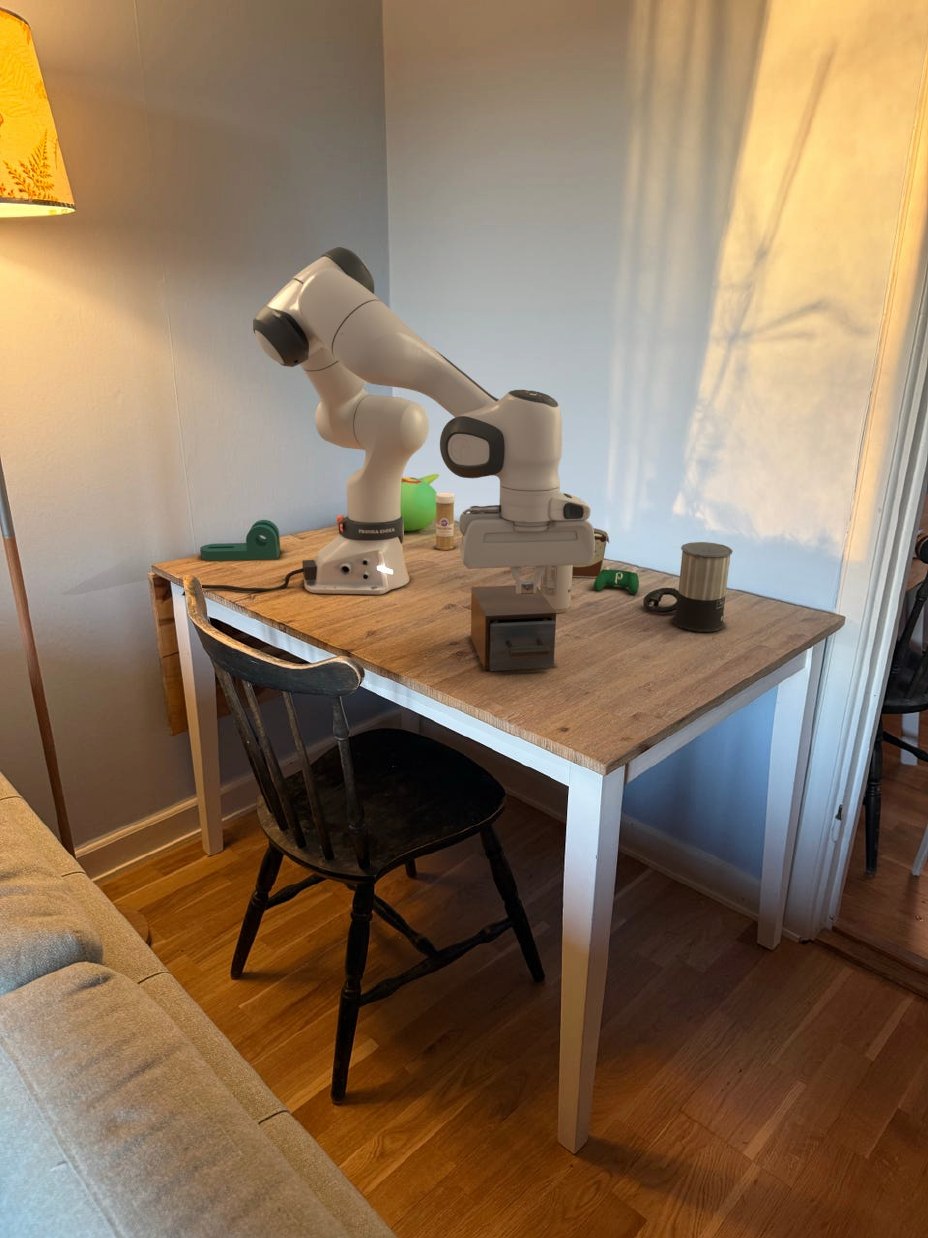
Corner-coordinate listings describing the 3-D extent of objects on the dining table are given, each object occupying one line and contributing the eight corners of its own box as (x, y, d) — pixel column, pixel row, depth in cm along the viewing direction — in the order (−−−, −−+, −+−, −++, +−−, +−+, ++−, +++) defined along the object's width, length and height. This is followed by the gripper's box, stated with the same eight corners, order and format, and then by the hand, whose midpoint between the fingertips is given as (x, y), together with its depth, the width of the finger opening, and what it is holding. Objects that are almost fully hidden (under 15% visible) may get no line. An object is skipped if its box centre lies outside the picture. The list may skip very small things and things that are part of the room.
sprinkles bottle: (437, 550, 200) (436, 496, 196) (434, 545, 205) (434, 492, 200) (455, 549, 201) (455, 495, 196) (452, 544, 205) (452, 491, 201)
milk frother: (721, 636, 150) (731, 557, 144) (634, 624, 155) (641, 548, 150) (726, 611, 162) (736, 537, 157) (646, 601, 167) (652, 530, 162)
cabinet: (553, 667, 136) (556, 612, 133) (484, 670, 135) (485, 616, 131) (533, 634, 150) (535, 584, 147) (470, 637, 148) (471, 587, 145)
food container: (605, 569, 187) (608, 526, 183) (606, 578, 181) (610, 534, 178) (550, 567, 188) (552, 525, 184) (550, 576, 182) (552, 532, 179)
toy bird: (364, 535, 213) (362, 479, 208) (381, 520, 228) (379, 467, 223) (433, 539, 210) (432, 482, 205) (445, 523, 226) (445, 469, 221)
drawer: (561, 680, 130) (563, 634, 127) (496, 684, 128) (497, 637, 125) (534, 636, 146) (536, 595, 144) (477, 639, 145) (477, 597, 142)
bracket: (280, 551, 199) (278, 519, 196) (277, 559, 193) (274, 526, 190) (204, 552, 197) (200, 520, 195) (198, 561, 191) (194, 528, 188)
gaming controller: (637, 600, 173) (642, 575, 175) (637, 592, 169) (641, 566, 172) (594, 595, 176) (598, 571, 178) (592, 587, 172) (597, 562, 175)
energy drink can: (575, 612, 161) (579, 537, 155) (546, 615, 159) (549, 540, 154) (563, 602, 166) (566, 530, 161) (535, 605, 165) (538, 532, 159)
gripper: (462, 511, 118) (461, 602, 123) (601, 507, 120) (595, 597, 125) (456, 501, 123) (456, 589, 128) (589, 498, 126) (583, 584, 131)
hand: (525, 593), depth 127 cm, fingers closed
